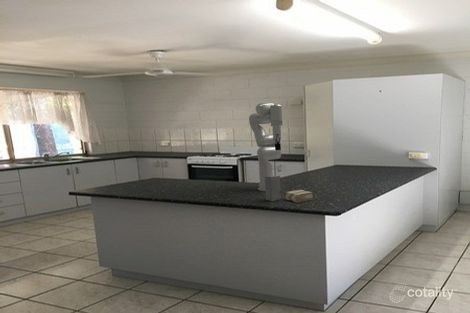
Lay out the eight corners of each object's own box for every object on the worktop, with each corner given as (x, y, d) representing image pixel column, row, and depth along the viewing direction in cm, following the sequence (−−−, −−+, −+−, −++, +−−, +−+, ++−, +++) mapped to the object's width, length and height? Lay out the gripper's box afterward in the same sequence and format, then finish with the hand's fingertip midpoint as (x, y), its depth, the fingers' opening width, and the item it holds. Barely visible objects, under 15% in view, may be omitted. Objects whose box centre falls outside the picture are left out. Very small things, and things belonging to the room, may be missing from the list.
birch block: (285, 199, 242) (285, 192, 241) (300, 197, 247) (300, 189, 247) (297, 202, 231) (297, 195, 231) (312, 200, 237) (312, 192, 236)
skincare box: (272, 201, 237) (271, 176, 235) (264, 200, 243) (263, 175, 241) (281, 199, 242) (281, 175, 240) (274, 197, 248) (273, 174, 246)
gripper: (270, 124, 253) (271, 149, 254) (271, 123, 235) (272, 150, 237) (281, 123, 252) (282, 148, 253) (283, 123, 235) (284, 150, 236)
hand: (277, 149), depth 245 cm, fingers open, 9 cm apart
